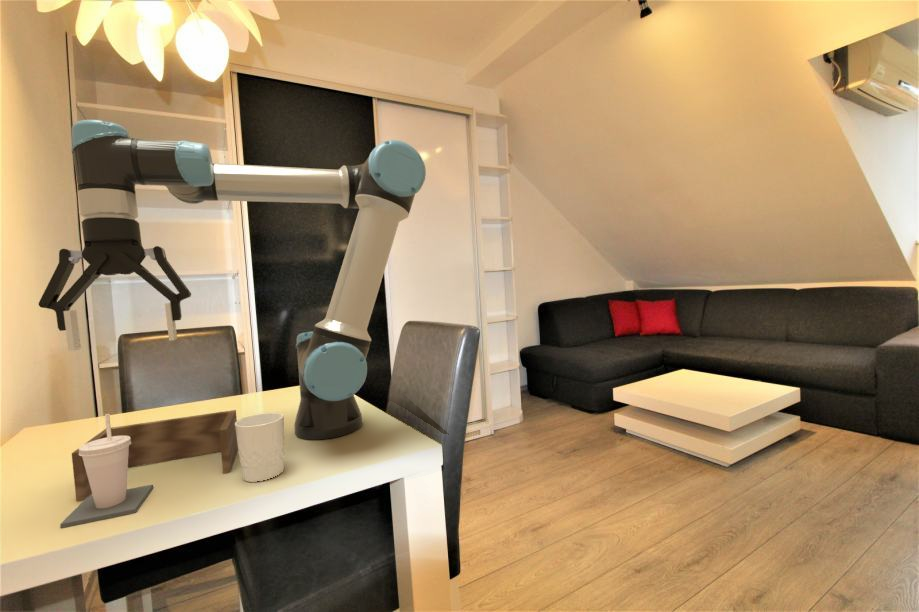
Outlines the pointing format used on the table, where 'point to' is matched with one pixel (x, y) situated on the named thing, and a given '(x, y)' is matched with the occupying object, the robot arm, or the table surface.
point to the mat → (91, 513)
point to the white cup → (261, 446)
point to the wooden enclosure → (169, 443)
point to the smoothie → (107, 467)
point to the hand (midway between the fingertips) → (126, 344)
